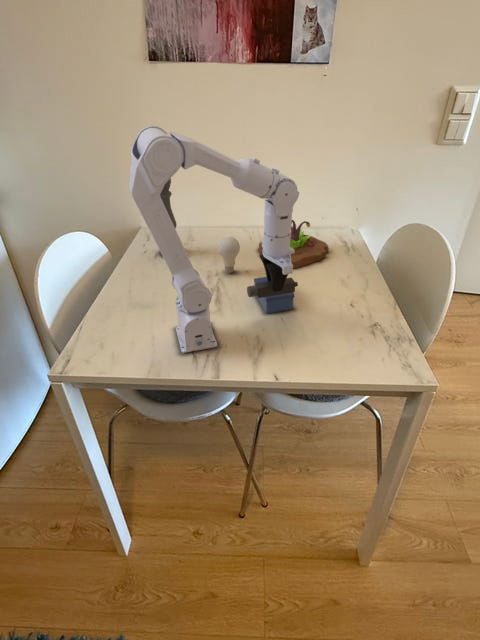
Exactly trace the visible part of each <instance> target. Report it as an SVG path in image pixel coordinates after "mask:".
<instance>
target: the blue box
mask: <svg viewBox="0 0 480 640" xmlns="http://www.w3.org/2000/svg"><path fill="white" fill-rule="evenodd" d="M265 281H267V276H262V277H254V278H253V283H254V284H255V283H259V282H265ZM295 295H296V294H295V292H292V293H286V294H280V295H274V296H268V297H262V298H258V297H257V296H255V297H256V298H257V301H258V302H259V304H260V306H261V307H262V309H263V310H264V313H265V314H273V313H278V312H284V311H289V310H294V309H293V307H294V298H295Z"/></svg>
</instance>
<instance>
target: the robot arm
mask: <svg viewBox="0 0 480 640" xmlns="http://www.w3.org/2000/svg"><path fill="white" fill-rule="evenodd" d="M168 133H169V134H168ZM130 154H131V155H130V156H131V157H130V158H131V160H130V171H129V181H128V190H129V193H130V194H131V197H132V199H133V201H134V203H135V205H136V207H137V209H138V211H139V213H140V215H141V217H142V219H143V221H144V223H145V225H146V227H147V229H148V230H149V232H150V234H151V236H152V238H153V240H154V243H155V244H156V246H157V248H158V251H159V250H160V251H159V253H160V252H161V254H162V256H161V257H163V260H164V262H165V264H166V266H167V268H168V270H169V272H170V274H171V285H172V287H173V289H174V290H175V292H176V294H177V296H176V299H175V310H176V318H177V326H176V327H175V331H176V335H177V339H178V343H179V348H180V351H181V353H182V354H185V353H191V352H196V351H202V350H206V349H207V350H208V349H212V348H216V347H218V342H217V340H216V337H215V335H214V331H213V327H212V326H213V325H212V322H211V311H210V304H211V303H212V298H213V297H212V292H211V290H210V289H209V288H208V287H207V285H206V284H205V283H204V281H203V279H202V278H201V276H200V274H199V271H198V270H196V269H195V268H194V266H193V264H192V262H191V260H190V257H189V256H188V254H187V251H186V249H185V246H184V245H183V241H182V240H181V239H180V236H179V234H178V232H177V229H175V227H174V225H173V223H172V221H171V219H170V216H169V214H168V212H167V210H166V208H165V206H164V203H163V201H162V199H161V197H160V194H161V191H162V189H163V187H164V185H165V183H166V182H167V181H168V180H169V179H170V178H171V179H172V178H173V176H175V174H176V173H178V171H179V170H180V168H182V169H183V170H188V169H190V168H193V167H194V166H200V167H202V168H205V169H207V170H210V171H212V172H215V173H217V174H220V175H222V176H225V177H228V178H230V179H231V183H232V185H233V187H234V188H236V189H238V190H240V191H243V192H245V193H248V194H250V195H253V196H255V197H257V198H260V199H263V200H264V213H263V214H264V216H263V217H264V218H263V219H264V220H263V221H264V222H263V238H261V242H262V247H263V255H262V254H261V255H259V259H260V260H261V262H262V265H263V269H264V271H265V277H267V281H271V284H272V289H273V292H277V291H282V289H283V286H284V283H285V280H286V278H288V276H289V275H292V274H293V273H294V268H293V265H292V263H291V254H294V253H295V250H294V249H293V248H292V247H290V238H291V226H292V225H291V222H292V220H293V212H294V206H295V204H296V202H297V201H298V199H299V196H300V191H299V190H298V185H297V184H296V182H295V181H294V180H293V179H291V178H290V177H288V176H286V175H284V174H283V173H281V172H280V170H279V169H277V168H276V167H272V168H270V167H267V166H265V165H264V164H261V160H260V159H258V158H256V157H254V156H252V157H250V158H249V157H243V158H240V159H237V160H235V159H233V158H231V157H229V156H228V155H225V154H223V153H222V152H219V151H218V150H216V149H213V148H211V147H209V146H208V145H206V144H203V143H201V142H200V141H198V140H195V139H193V138H192V137H189V136H185V135H183V134H181V133H177V132H174V131H170V130H168V132H167V131H165V130H164V129H163V128H162V127H160V126H157V125H149V126H146V127H144V128H142V129H141V130H139V132H138V133H137V135H136V137H135V139H134V141H133V144H132V146H131V148H130ZM292 223H293V222H292Z"/></svg>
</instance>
